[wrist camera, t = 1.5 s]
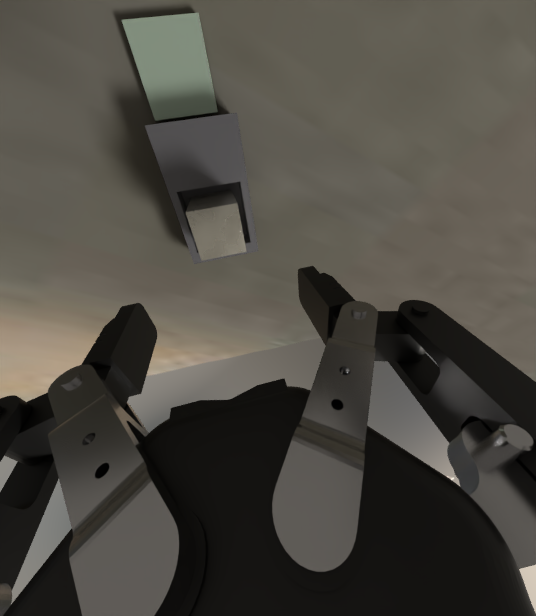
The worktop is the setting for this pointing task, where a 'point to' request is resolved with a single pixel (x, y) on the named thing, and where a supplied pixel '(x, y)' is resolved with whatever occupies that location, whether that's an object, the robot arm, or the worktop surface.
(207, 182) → the grey holder tray
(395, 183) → the worktop surface
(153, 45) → the mat
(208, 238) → the beige rectangular block
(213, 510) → the robot arm
